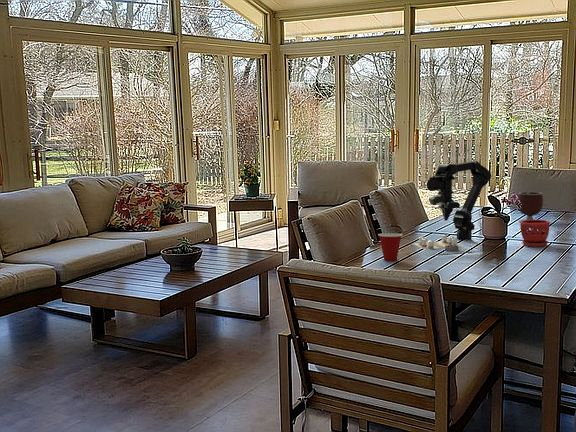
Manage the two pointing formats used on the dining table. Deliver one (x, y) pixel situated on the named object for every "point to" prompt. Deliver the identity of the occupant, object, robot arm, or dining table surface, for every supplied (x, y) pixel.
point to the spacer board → (435, 245)
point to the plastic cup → (390, 245)
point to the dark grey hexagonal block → (451, 248)
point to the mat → (452, 253)
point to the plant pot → (534, 232)
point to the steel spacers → (431, 242)
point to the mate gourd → (530, 203)
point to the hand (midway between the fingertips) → (445, 220)
